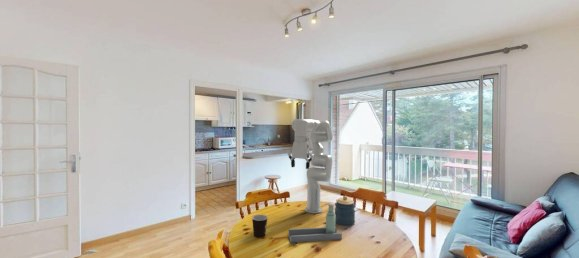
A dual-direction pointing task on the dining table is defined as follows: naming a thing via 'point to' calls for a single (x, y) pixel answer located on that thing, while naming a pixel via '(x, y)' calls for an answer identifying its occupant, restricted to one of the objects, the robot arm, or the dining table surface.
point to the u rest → (312, 235)
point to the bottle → (330, 219)
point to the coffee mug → (259, 225)
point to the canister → (345, 211)
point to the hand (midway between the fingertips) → (300, 167)
